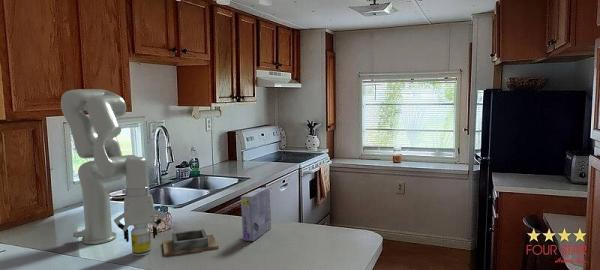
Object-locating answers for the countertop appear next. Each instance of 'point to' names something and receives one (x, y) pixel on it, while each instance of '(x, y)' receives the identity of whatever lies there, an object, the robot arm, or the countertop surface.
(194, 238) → the collar board
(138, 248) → the pill bottle
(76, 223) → the countertop surface
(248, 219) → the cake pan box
